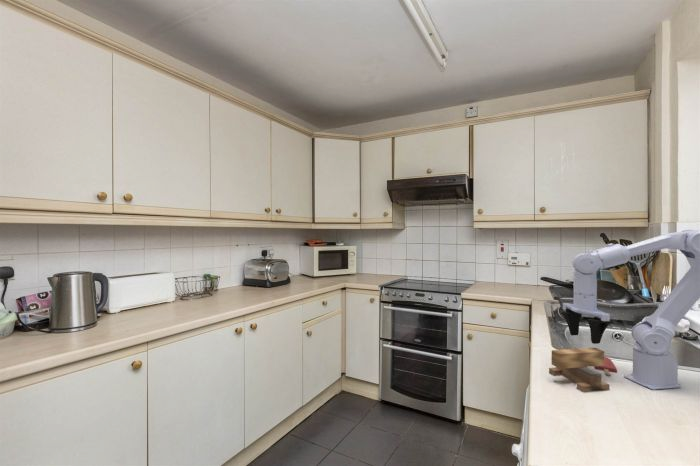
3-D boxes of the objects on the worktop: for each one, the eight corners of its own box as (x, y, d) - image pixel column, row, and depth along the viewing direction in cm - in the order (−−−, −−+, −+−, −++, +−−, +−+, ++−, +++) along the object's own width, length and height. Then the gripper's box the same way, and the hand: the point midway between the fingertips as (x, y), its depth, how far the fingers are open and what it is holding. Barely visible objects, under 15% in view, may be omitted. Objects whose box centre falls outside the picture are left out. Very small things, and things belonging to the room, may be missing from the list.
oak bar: (594, 361, 97) (594, 347, 97) (604, 365, 94) (604, 351, 94) (551, 364, 95) (551, 350, 95) (559, 368, 92) (559, 354, 92)
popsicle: (597, 370, 99) (590, 354, 112) (597, 375, 99) (590, 358, 112) (620, 374, 96) (610, 357, 109) (620, 379, 96) (610, 361, 109)
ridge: (572, 371, 101) (572, 356, 101) (609, 389, 89) (609, 373, 89) (549, 372, 100) (549, 357, 100) (583, 392, 88) (583, 375, 88)
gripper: (554, 289, 107) (554, 332, 107) (594, 299, 92) (594, 348, 93) (574, 289, 108) (573, 331, 108) (616, 298, 94) (616, 346, 94)
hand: (584, 338), depth 100 cm, fingers open, 7 cm apart
